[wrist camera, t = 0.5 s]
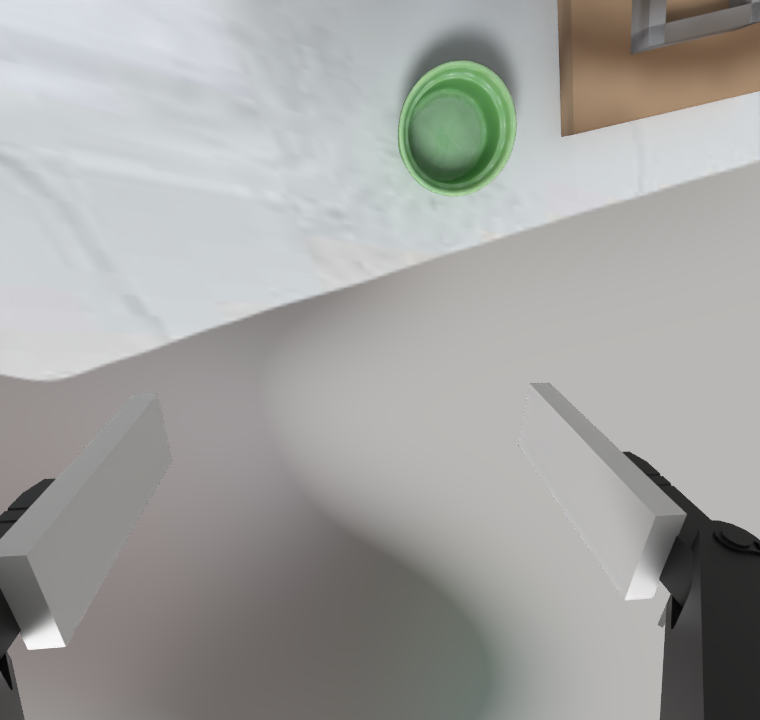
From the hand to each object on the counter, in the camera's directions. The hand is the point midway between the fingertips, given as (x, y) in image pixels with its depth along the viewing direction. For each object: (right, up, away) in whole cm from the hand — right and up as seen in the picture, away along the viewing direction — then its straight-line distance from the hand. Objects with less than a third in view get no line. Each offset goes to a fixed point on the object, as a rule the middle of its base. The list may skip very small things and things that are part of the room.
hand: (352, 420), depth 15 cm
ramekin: (+6, +21, +20) cm, 30 cm away
